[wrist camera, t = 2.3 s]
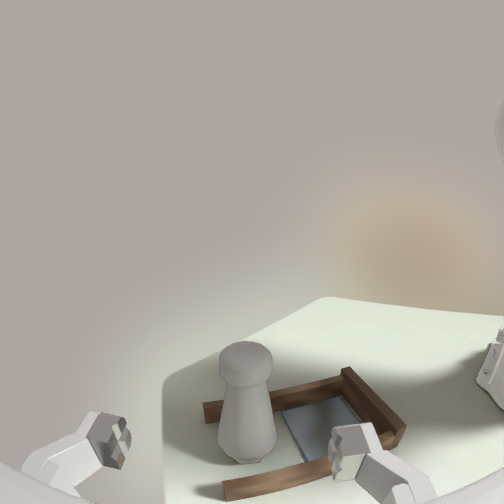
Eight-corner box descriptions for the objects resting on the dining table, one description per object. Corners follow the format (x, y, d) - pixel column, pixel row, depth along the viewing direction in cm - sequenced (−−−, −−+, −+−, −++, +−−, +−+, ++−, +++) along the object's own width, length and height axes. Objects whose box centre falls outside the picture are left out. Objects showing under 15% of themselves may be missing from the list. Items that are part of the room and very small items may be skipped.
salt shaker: (209, 442, 27) (196, 343, 24) (255, 423, 30) (255, 325, 27) (238, 479, 22) (231, 381, 19) (287, 455, 25) (298, 355, 22)
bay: (345, 387, 35) (349, 366, 35) (397, 446, 24) (406, 425, 23) (204, 417, 31) (201, 396, 30) (226, 501, 20) (223, 484, 19)
